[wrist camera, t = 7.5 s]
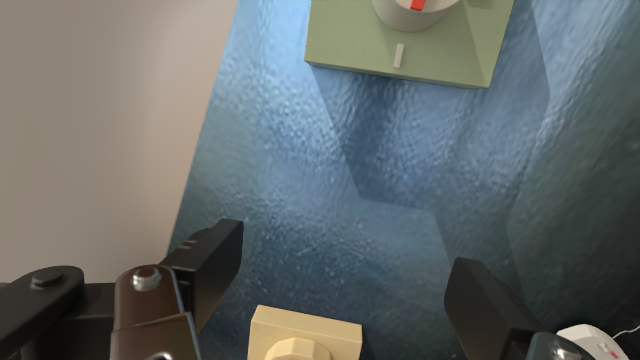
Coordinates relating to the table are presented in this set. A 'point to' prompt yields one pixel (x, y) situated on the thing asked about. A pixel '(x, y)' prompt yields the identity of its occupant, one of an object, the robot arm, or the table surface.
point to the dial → (412, 13)
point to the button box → (301, 337)
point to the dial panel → (409, 42)
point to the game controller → (595, 342)
